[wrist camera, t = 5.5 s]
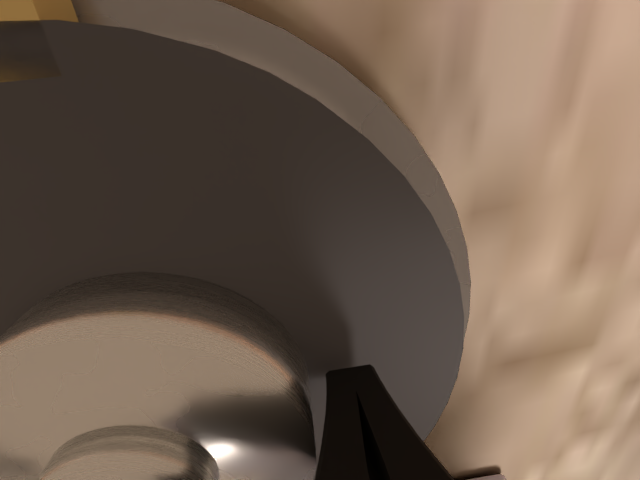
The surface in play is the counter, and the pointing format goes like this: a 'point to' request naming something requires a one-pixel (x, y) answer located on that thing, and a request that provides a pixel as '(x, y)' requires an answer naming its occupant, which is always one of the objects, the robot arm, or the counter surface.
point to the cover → (153, 386)
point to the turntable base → (303, 73)
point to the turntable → (217, 199)
